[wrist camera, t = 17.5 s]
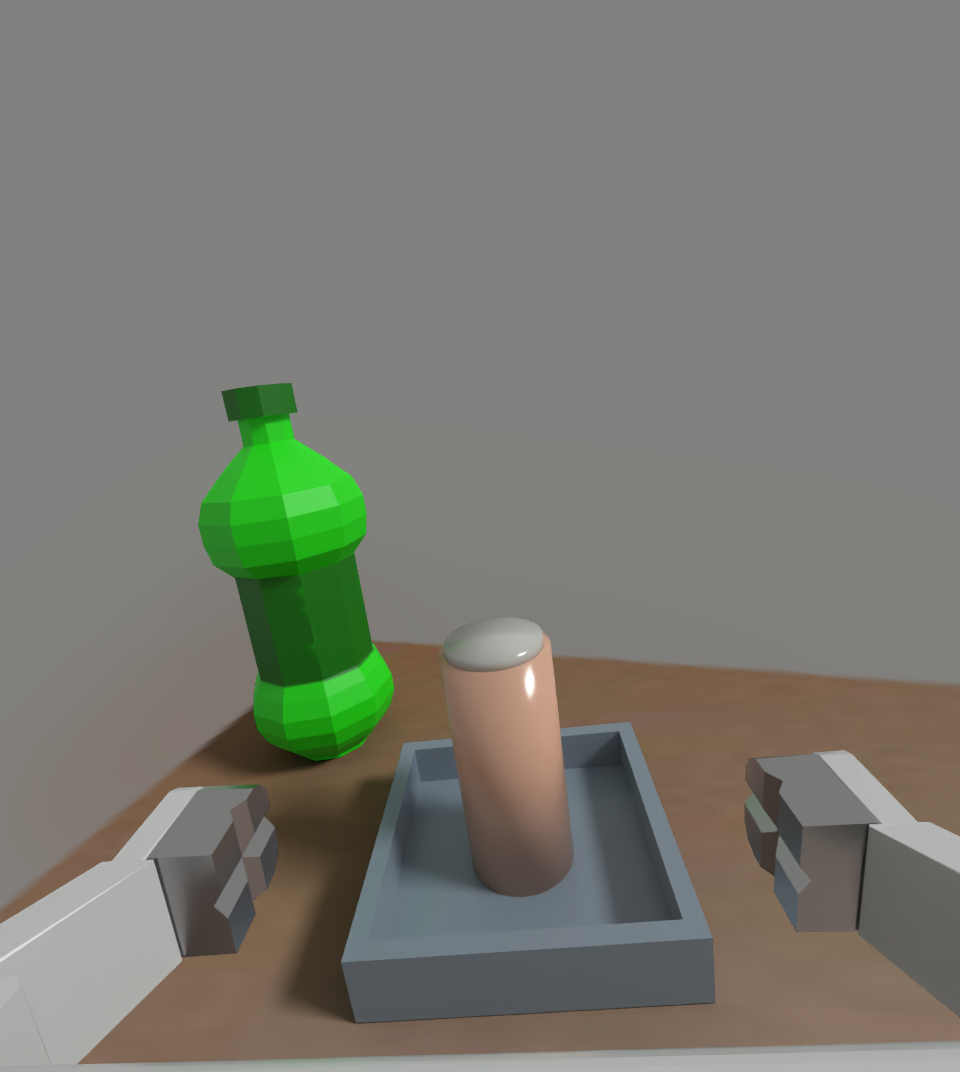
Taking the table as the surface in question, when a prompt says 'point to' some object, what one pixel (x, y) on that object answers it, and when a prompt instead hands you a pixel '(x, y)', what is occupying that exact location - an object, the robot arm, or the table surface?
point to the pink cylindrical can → (508, 754)
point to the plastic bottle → (296, 580)
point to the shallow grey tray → (527, 901)
